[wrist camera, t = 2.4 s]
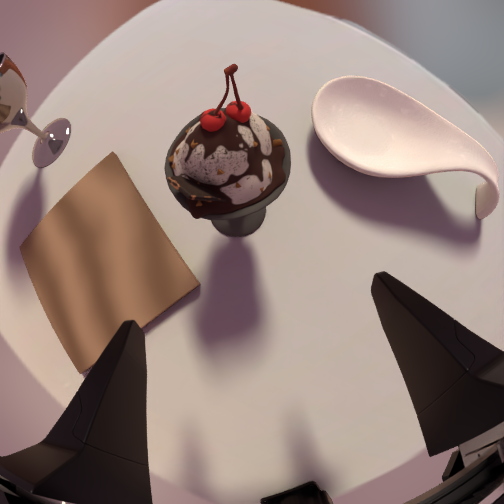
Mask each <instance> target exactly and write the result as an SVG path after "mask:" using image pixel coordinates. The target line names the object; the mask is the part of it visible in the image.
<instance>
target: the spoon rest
mask: <svg viewBox="0 0 504 504" xmlns="http://www.w3.org/2000/svg"><path fill="white" fill-rule="evenodd" d="M311 113H312V122H313V126H314V129H315V132H316V134H317V136H318V137H319V139H320V141H321V142H322V143H323V145H324V146H325V147H326V148H327V149H328V151H329V152H330V153H331V154H332V155H333V156H334V157H336V158H337V159H338V160H339V161H341V162H342V163H344V164H345V165H347V166H348V167H350V168H352V169H354V170H356V171H359V172H361V173H364V174H367V175H371V176H376V177H388V178H401V177H412V176H420V175H426V174H432V173H439V172H447V171H467V172H473V173H476V174H478V175H480V176H481V177H483V178H484V179H485V180H486V182H484V183H482V184H480V185H478V187H477V190H476V215H477V217H478V218H479V219H483V218H485V217H487V216H488V215H489V214H491V213H492V212H493V210H494V209H495V207H496V206H497V203H498V200H499V189H498V169H497V166H496V164H495V162H494V160H493V158H492V157H491V156H490V154H489V153H488V152H487V151H486V149H485V148H484V147H483V146H482V145H480V144H479V143H478V142H477V141H476V140H474V139H473V138H472V137H470V136H469V135H468V134H466V133H465V132H463V131H462V130H460V129H459V128H458V127H456V126H455V125H453V124H452V123H450V122H449V121H447V120H446V119H444V118H443V117H441V116H440V115H438V114H437V113H435V112H434V111H432V110H431V109H429V108H428V107H426V106H425V105H423V104H422V103H420V102H418V101H417V100H415V99H413V98H412V97H410V96H409V95H407V94H405V93H403V92H401V91H399V90H397V89H396V88H394V87H392V86H390V85H388V84H385V83H383V82H380V81H378V80H375V79H371V78H367V77H361V76H345V77H339V78H336V79H333V80H331V81H329V82H327V83H326V84H325V85H323V86H322V87H321V88H320V90H319V91H318V92H317V94H316V96H315V98H314V101H313V104H312V110H311Z"/></svg>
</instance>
